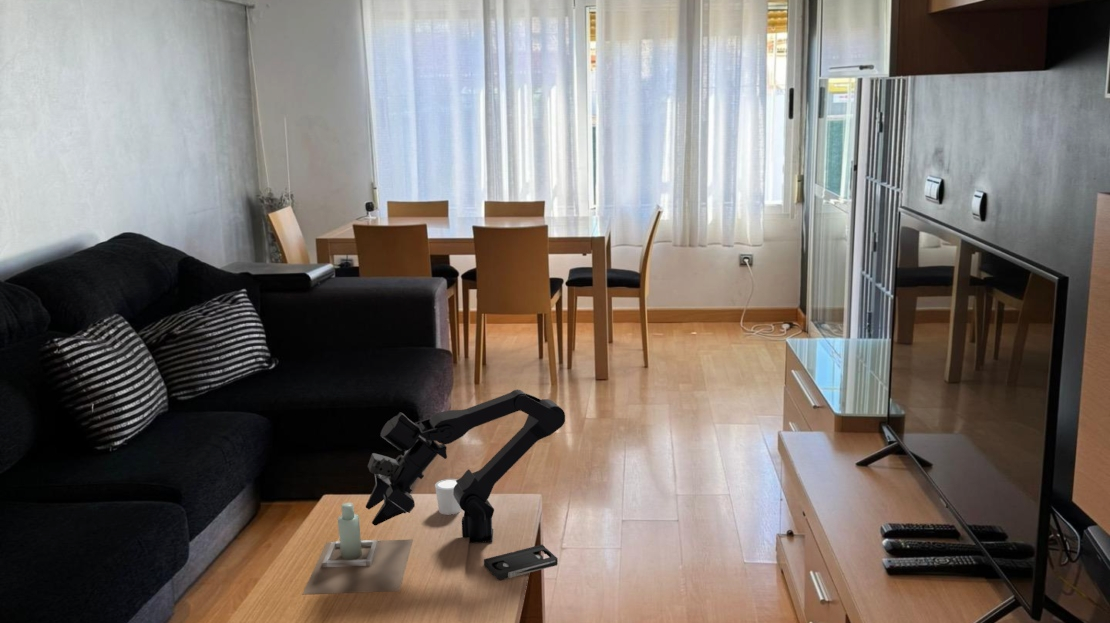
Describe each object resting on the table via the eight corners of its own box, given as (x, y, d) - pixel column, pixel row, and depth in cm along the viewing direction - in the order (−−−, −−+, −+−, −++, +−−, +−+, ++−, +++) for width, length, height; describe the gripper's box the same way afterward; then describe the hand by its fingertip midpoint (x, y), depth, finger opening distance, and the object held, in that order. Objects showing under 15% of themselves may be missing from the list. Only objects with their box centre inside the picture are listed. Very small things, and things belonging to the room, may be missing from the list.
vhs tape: (498, 583, 209) (498, 574, 209) (484, 567, 216) (483, 559, 216) (558, 567, 216) (558, 558, 215) (542, 552, 223) (542, 544, 222)
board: (413, 543, 228) (412, 535, 227) (399, 595, 204) (398, 586, 204) (326, 546, 228) (325, 538, 227) (302, 598, 204) (301, 590, 204)
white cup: (466, 504, 249) (465, 478, 247) (461, 516, 242) (459, 489, 240) (439, 504, 249) (438, 478, 248) (433, 515, 243) (432, 489, 241)
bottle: (366, 552, 222) (362, 502, 219) (353, 561, 218) (349, 510, 215) (349, 549, 224) (345, 499, 221) (336, 557, 220) (332, 507, 217)
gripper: (381, 428, 227) (336, 481, 226) (395, 455, 209) (347, 513, 209) (417, 455, 231) (374, 507, 230) (434, 484, 214) (387, 540, 213)
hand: (370, 516), depth 220 cm, fingers open, 9 cm apart
